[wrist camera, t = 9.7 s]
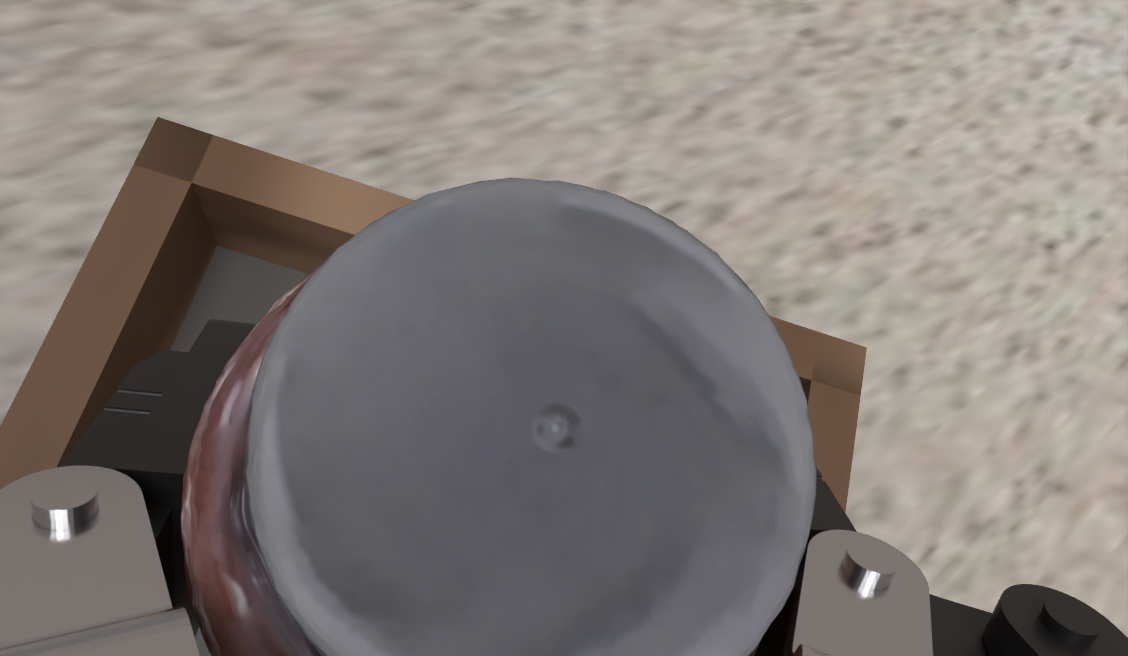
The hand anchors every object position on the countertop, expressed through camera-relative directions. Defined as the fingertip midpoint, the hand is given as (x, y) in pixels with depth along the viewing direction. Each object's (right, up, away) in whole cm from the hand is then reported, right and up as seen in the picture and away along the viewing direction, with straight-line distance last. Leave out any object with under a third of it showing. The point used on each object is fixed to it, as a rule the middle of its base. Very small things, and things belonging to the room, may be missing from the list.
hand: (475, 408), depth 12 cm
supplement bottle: (-1, -3, +4) cm, 5 cm away
